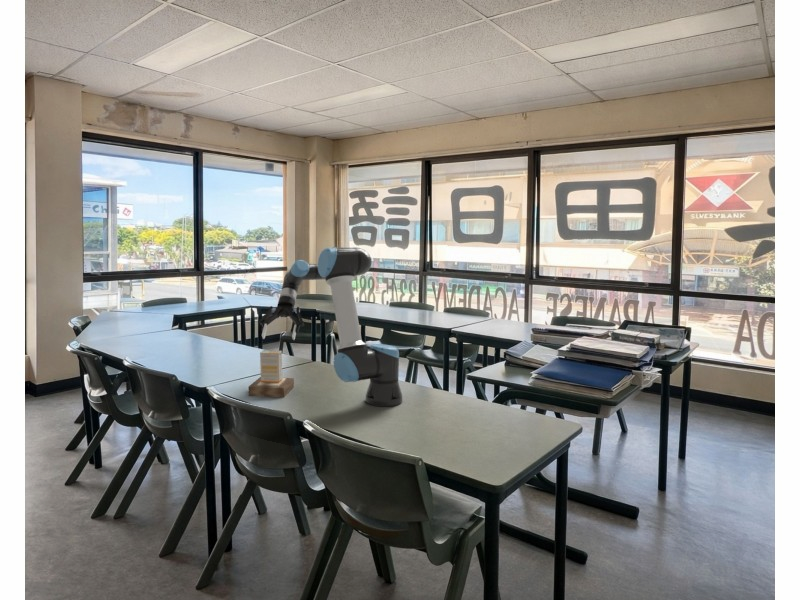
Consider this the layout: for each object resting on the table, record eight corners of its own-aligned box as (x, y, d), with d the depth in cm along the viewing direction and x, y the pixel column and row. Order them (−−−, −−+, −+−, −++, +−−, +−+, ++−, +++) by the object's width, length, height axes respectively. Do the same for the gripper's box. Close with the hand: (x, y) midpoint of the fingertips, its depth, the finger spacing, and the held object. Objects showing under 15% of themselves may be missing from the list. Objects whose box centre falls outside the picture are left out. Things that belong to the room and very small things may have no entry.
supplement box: (282, 380, 231) (282, 350, 229) (279, 383, 226) (278, 352, 224) (264, 379, 231) (263, 349, 230) (260, 382, 226) (259, 352, 225)
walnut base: (293, 386, 236) (293, 377, 235) (284, 397, 221) (283, 386, 220) (260, 385, 237) (260, 376, 236) (248, 395, 222) (248, 385, 222)
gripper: (314, 305, 251) (307, 343, 238) (262, 304, 253) (252, 341, 240) (312, 295, 245) (304, 333, 232) (259, 294, 247) (248, 332, 234)
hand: (278, 337), depth 236 cm, fingers open, 13 cm apart
